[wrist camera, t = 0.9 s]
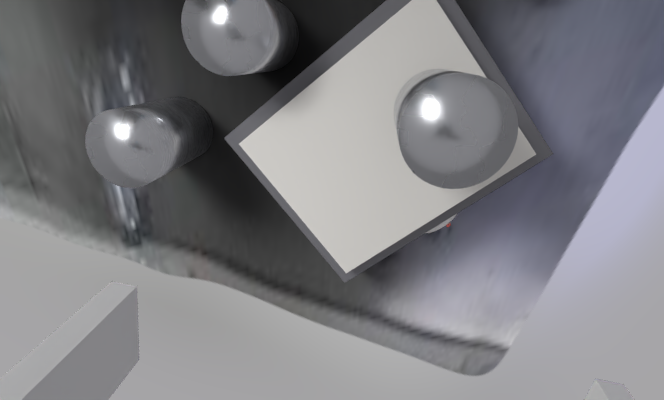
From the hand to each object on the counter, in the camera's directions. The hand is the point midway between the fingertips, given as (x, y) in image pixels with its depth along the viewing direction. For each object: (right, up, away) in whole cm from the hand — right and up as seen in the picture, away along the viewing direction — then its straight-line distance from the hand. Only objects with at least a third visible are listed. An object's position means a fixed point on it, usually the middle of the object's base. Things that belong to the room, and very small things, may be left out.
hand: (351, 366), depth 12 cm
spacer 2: (-5, +17, +18) cm, 25 cm away
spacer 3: (+6, +10, +13) cm, 18 cm away
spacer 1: (-13, +11, +21) cm, 27 cm away
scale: (+3, +10, +19) cm, 22 cm away
